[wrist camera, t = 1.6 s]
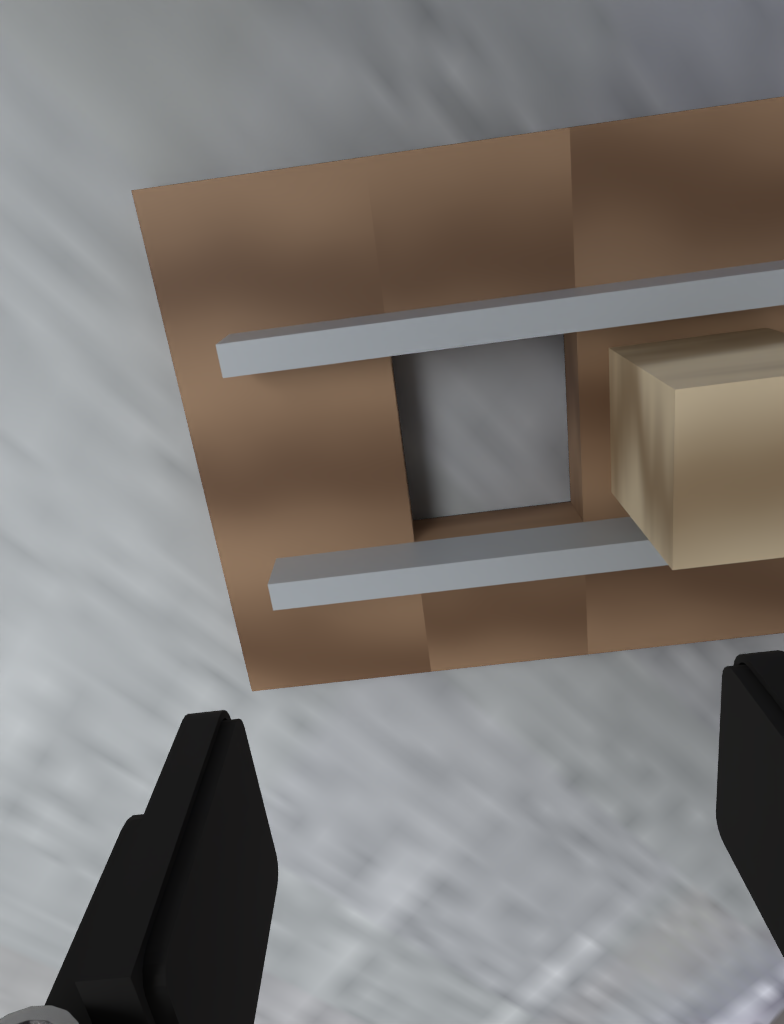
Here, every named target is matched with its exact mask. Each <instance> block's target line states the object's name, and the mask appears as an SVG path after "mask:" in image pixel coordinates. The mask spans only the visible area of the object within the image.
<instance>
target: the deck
mask: <svg viewBox="0 0 784 1024" xmlns="http://www.w3.org/2000/svg"><path fill="white" fill-rule="evenodd" d="M131 191H132V195H133V199H134V203H135V207H136V211H137V216H138V220H139V224H140V228H141V232H142V236H143V240H144V245H145V249H146V253H147V257H148V261H149V265H150V270H151V274H152V278H153V282H154V286H155V290H156V294H157V299H158V303H159V307H160V311H161V315H162V319H163V323H164V328H165V332H166V336H167V340H168V344H169V348H170V353H171V357H172V361H173V365H174V369H175V373H176V377H177V382H178V386H179V390H180V394H181V398H182V402H183V407H184V411H185V415H186V419H187V423H188V427H189V431H190V436H191V440H192V444H193V448H194V452H195V456H196V460H197V465H198V469H199V473H200V477H201V481H202V485H203V490H204V494H205V498H206V502H207V506H208V510H209V514H210V519H211V523H212V527H213V531H214V535H215V539H216V544H217V548H218V552H219V556H220V560H221V564H222V568H223V573H224V577H225V581H226V585H227V589H228V593H229V597H230V602H231V606H232V610H233V614H234V618H235V622H236V627H237V631H238V635H239V639H240V643H241V647H242V651H243V656H244V660H245V664H246V668H247V672H248V676H249V681H250V685H251V689H252V691H259V690H268V689H277V688H286V687H295V686H304V685H313V684H322V683H332V682H341V681H350V680H359V679H368V678H377V677H386V676H395V675H404V674H413V673H422V672H432V671H441V670H450V669H459V668H468V667H477V666H486V665H495V664H504V663H513V662H522V661H532V660H541V659H550V658H559V657H568V656H577V655H586V654H595V653H604V652H613V651H622V650H632V649H641V648H650V647H659V646H668V645H677V644H686V643H695V642H704V641H713V640H723V639H732V638H741V637H750V636H759V635H768V634H777V633H784V557H783V558H774V559H766V560H757V561H748V562H740V563H731V564H722V565H713V566H705V567H696V568H687V569H679V570H672V569H671V568H670V566H669V565H665V566H656V567H647V568H639V569H630V570H621V571H612V572H604V573H595V574H586V575H578V576H569V577H560V578H552V579H543V580H534V581H526V582H517V583H508V584H500V585H491V586H482V587H473V588H465V589H456V590H447V591H439V592H430V593H421V594H413V595H404V596H395V597H387V598H378V599H369V600H361V601H352V602H343V603H334V604H326V605H317V606H308V607H300V608H291V609H282V610H274V611H273V607H272V602H271V598H270V593H269V589H268V582H269V579H270V576H271V573H272V570H273V567H274V564H275V561H276V559H277V558H285V557H293V556H302V555H310V554H319V553H327V552H336V551H344V550H353V549H361V548H369V547H378V546H386V545H395V544H403V543H412V542H420V541H429V540H437V539H445V538H454V537H462V536H471V535H479V534H488V533H496V532H504V531H513V530H521V529H530V528H538V527H547V526H555V525H564V524H572V523H580V522H589V521H597V520H606V519H614V518H623V517H630V515H629V514H628V513H627V512H626V510H625V509H624V508H623V506H622V505H621V504H620V503H619V501H618V500H617V499H616V497H615V496H614V495H613V494H612V492H611V439H610V387H609V348H612V347H620V346H628V345H635V344H643V343H651V342H659V341H666V340H674V339H682V338H689V337H697V336H705V335H713V334H720V333H728V332H736V331H743V330H751V329H759V328H770V329H773V330H776V331H780V332H783V333H784V305H779V306H771V307H763V308H756V309H748V310H740V311H733V312H725V313H717V314H710V315H702V316H694V317H687V318H679V319H672V320H664V321H656V322H649V323H641V324H633V325H626V326H618V327H610V328H603V329H595V330H587V331H580V332H572V333H564V352H565V376H566V400H567V424H568V448H569V472H570V496H571V502H562V503H554V504H546V505H537V506H529V507H521V508H512V509H504V510H496V511H487V512H479V513H471V514H462V515H454V516H446V517H437V518H429V519H421V520H413V518H412V510H411V502H410V494H409V487H408V479H407V471H406V463H405V456H404V448H403V440H402V433H401V425H400V417H399V409H398V402H397V394H396V386H395V378H394V371H393V363H392V356H388V357H381V358H373V359H366V360H358V361H350V362H343V363H335V364H327V365H320V366H312V367H304V368H297V369H289V370H281V371H274V372H266V373H258V374H251V375H243V376H235V377H228V378H223V377H222V372H221V368H220V363H219V358H218V354H217V349H216V344H217V343H218V342H220V341H221V340H222V339H224V338H225V337H226V336H227V335H229V334H234V333H241V332H249V331H256V330H264V329H271V328H279V327H286V326H294V325H301V324H309V323H316V322H324V321H331V320H339V319H346V318H354V317H361V316H369V315H376V314H384V313H391V312H399V311H406V310H414V309H421V308H429V307H436V306H444V305H451V304H459V303H466V302H474V301H481V300H489V299H496V298H504V297H511V296H518V295H526V294H533V293H541V292H548V291H556V290H563V289H571V288H578V287H586V286H593V285H601V284H608V283H616V282H623V281H631V280H638V279H646V278H653V277H661V276H668V275H676V274H683V273H691V272H698V271H706V270H713V269H721V268H728V267H736V266H743V265H751V264H758V263H766V262H773V261H781V260H784V97H777V98H770V99H763V100H757V101H750V102H743V103H736V104H729V105H722V106H715V107H708V108H701V109H694V110H687V111H680V112H673V113H666V114H659V115H652V116H645V117H638V118H631V119H625V120H618V121H611V122H604V123H597V124H590V125H583V126H576V127H569V128H562V129H555V130H548V131H541V132H534V133H527V134H520V135H513V136H506V137H499V138H492V139H486V140H479V141H472V142H465V143H458V144H451V145H444V146H437V147H430V148H423V149H416V150H409V151H402V152H395V153H388V154H381V155H374V156H367V157H360V158H353V159H347V160H340V161H333V162H326V163H319V164H312V165H305V166H298V167H291V168H284V169H277V170H270V171H263V172H256V173H249V174H242V175H235V176H228V177H221V178H215V179H208V180H201V181H194V182H187V183H180V184H173V185H166V186H159V187H152V188H145V189H138V190H131Z"/></svg>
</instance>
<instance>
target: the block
mask: <svg viewBox="0 0 784 1024" xmlns="http://www.w3.org/2000/svg"><path fill="white" fill-rule="evenodd" d="M609 387H610V439H611V492H612V494H613V495H614V496H615V497H616V499H617V500H618V501H619V503H620V504H621V505H622V506H623V508H624V509H625V510H626V512H627V513H628V514H629V515H630V517H631V518H632V519H633V520H634V522H635V523H636V524H637V526H638V527H639V528H640V529H641V531H642V532H643V533H644V535H645V536H646V537H647V538H648V540H649V541H650V542H651V543H652V545H653V546H654V547H655V549H656V550H657V551H658V552H659V554H660V555H661V556H662V558H663V559H664V560H665V561H666V563H667V564H668V565H669V566H670V568H671V569H672V570H679V569H687V568H696V567H705V566H713V565H722V564H731V563H740V562H748V561H757V560H766V559H774V558H783V557H784V333H783V332H780V331H776V330H773V329H770V328H759V329H751V330H743V331H736V332H728V333H720V334H713V335H705V336H697V337H689V338H682V339H674V340H666V341H659V342H651V343H643V344H635V345H628V346H620V347H612V348H609Z"/></svg>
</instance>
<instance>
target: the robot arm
mask: <svg viewBox="0 0 784 1024" xmlns="http://www.w3.org/2000/svg"><path fill="white" fill-rule="evenodd" d="M716 819H717V825H718V829H719V833H720V836H721V838H722V841H723V843H724V845H725V847H726V849H727V850H728V852H729V854H730V856H731V858H732V860H733V862H734V864H735V866H736V868H737V869H738V871H739V873H740V875H741V877H742V879H743V881H744V883H745V885H746V887H747V889H748V890H749V892H750V894H751V896H752V898H753V900H754V902H755V904H756V906H757V908H758V909H759V911H760V913H761V915H762V917H763V919H764V921H765V923H766V925H767V927H768V928H769V930H770V932H771V934H772V936H773V938H774V940H775V942H776V944H777V946H778V948H779V949H780V951H781V953H782V955H783V957H784V652H783V651H780V650H776V651H767V652H758V653H748V654H740V655H738V656H737V657H736V659H735V661H734V666H727V667H725V668H724V670H723V674H722V691H721V713H720V735H719V757H718V779H717V801H716ZM277 883H278V862H277V856H276V851H275V847H274V843H273V839H272V835H271V831H270V827H269V823H268V819H267V815H266V811H265V807H264V803H263V799H262V795H261V791H260V787H259V783H258V779H257V775H256V771H255V767H254V763H253V759H252V755H251V751H250V747H249V743H248V739H247V735H246V731H245V727H244V724H243V722H242V720H241V719H233V720H231V718H230V715H229V714H228V712H227V711H225V710H221V711H212V712H202V713H193V714H187V715H186V716H185V717H184V719H183V720H182V723H181V725H180V728H179V730H178V732H177V735H176V737H175V740H174V742H173V745H172V747H171V749H170V752H169V754H168V757H167V759H166V762H165V764H164V766H163V769H162V771H161V774H160V776H159V779H158V781H157V783H156V786H155V788H154V791H153V793H152V796H151V798H150V800H149V803H148V805H147V808H146V810H145V813H144V814H141V815H133V816H132V817H130V818H129V819H128V820H127V821H126V823H125V824H124V826H123V828H122V830H121V832H120V834H119V836H118V839H117V841H116V843H115V846H114V848H113V850H112V852H111V855H110V857H109V859H108V862H107V864H106V866H105V868H104V871H103V873H102V875H101V878H100V880H99V882H98V884H97V887H96V889H95V891H94V894H93V896H92V898H91V900H90V903H89V905H88V907H87V910H86V912H85V914H84V916H83V919H82V921H81V923H80V926H79V928H78V930H77V932H76V935H75V937H74V939H73V942H72V944H71V946H70V948H69V951H68V953H67V955H66V958H65V960H64V962H63V964H62V967H61V969H60V971H59V974H58V976H57V978H56V980H55V983H54V985H53V987H52V990H51V992H50V994H49V996H48V999H47V1001H46V1003H45V1006H31V1007H28V1008H25V1009H22V1010H19V1011H16V1012H13V1013H10V1014H8V1015H6V1016H4V1017H3V1018H1V1019H0V1024H254V1019H255V1014H256V1008H257V1002H258V996H259V990H260V984H261V978H262V972H263V967H264V961H265V955H266V949H267V943H268V937H269V931H270V925H271V920H272V914H273V908H274V902H275V896H276V890H277Z"/></svg>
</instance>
